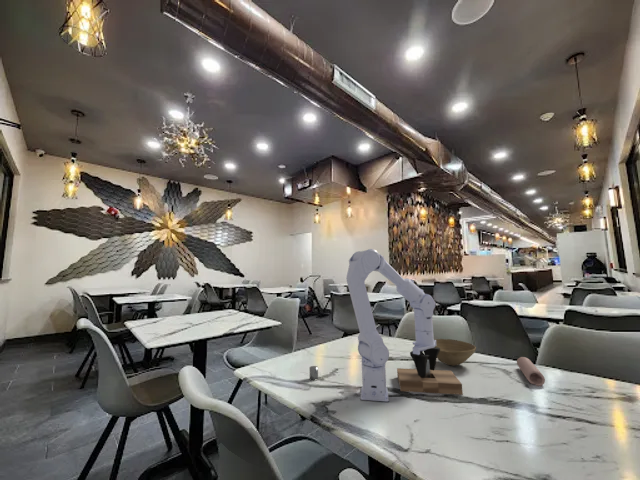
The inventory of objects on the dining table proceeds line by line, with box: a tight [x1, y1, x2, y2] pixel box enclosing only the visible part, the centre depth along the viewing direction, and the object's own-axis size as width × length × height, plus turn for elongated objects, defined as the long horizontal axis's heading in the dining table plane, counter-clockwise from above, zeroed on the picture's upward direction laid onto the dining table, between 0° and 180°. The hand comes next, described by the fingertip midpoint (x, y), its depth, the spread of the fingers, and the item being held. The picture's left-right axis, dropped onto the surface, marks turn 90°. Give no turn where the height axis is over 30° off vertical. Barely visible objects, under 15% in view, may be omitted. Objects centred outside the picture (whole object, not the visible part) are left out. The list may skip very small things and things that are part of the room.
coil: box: [516, 356, 546, 387], centre depth 98 cm, size 5×5×18 cm
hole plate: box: [396, 367, 463, 395], centre depth 91 cm, size 12×18×3 cm, turn 79°
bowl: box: [434, 338, 477, 367], centre depth 112 cm, size 18×18×8 cm
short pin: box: [309, 365, 319, 381], centre depth 99 cm, size 3×3×4 cm
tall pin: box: [421, 359, 430, 378], centre depth 92 cm, size 3×3×8 cm
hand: (426, 372), depth 92 cm, fingers open, 7 cm apart
